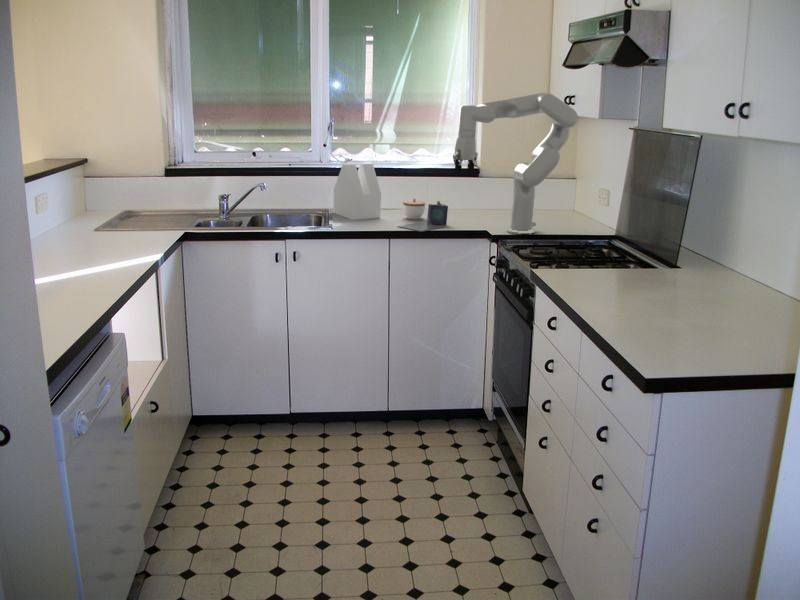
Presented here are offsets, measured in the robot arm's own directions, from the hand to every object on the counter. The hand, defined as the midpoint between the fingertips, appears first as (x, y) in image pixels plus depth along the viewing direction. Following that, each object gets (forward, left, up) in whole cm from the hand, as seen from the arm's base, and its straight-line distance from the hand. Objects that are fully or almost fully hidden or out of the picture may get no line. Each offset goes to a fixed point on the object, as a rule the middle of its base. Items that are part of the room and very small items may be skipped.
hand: (464, 173), depth 360 cm
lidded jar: (-9, -35, -27) cm, 45 cm away
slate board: (+6, -18, -26) cm, 32 cm away
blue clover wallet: (-6, -18, -26) cm, 32 cm away
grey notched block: (+8, -57, -27) cm, 64 cm away
